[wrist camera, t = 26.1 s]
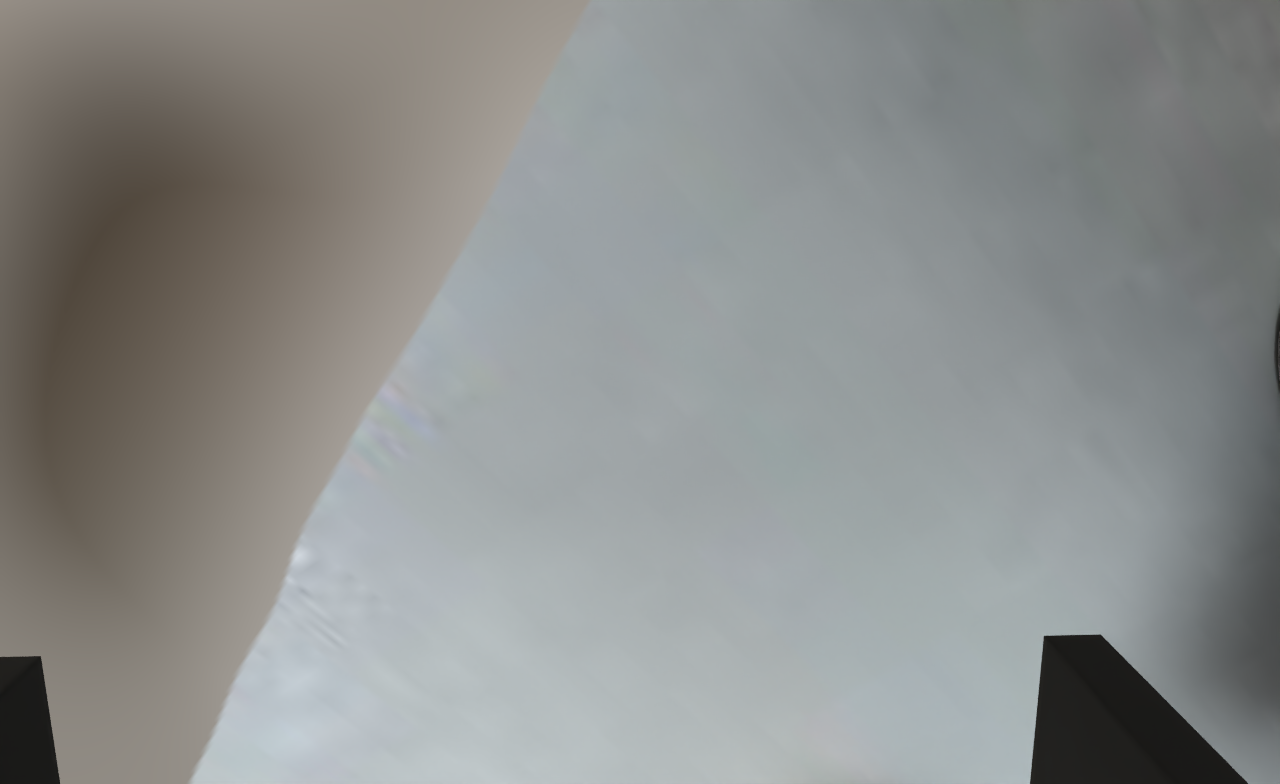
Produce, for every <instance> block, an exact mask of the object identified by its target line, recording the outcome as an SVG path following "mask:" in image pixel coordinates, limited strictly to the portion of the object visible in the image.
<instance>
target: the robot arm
mask: <svg viewBox="0 0 1280 784" xmlns="http://www.w3.org/2000/svg"><path fill="white" fill-rule="evenodd" d="M1278 369H1279V380H1280V331H1279V340H1278ZM0 784H60V780H59V773H58V767H57V760H56V753H55V747H54V740H53V734H52V727H51V720H50V714H49V707H48V701H47V694H46V687H45V681H44V675H43V668H42V661H41V656H32V657H0ZM1030 784H1248V783H1247V782H1246V781H1245V780H1244V779H1243V778H1242V777H1241V776H1240V775H1239V774H1238V773H1237V772H1236V771H1235V770H1234V769H1233V768H1232V767H1231V766H1230V765H1229V764H1228V763H1227V762H1226V761H1225V760H1224V759H1223V758H1222V757H1221V756H1220V755H1219V754H1218V753H1217V752H1216V751H1215V750H1214V749H1213V748H1212V746H1211V745H1210V744H1209V743H1208V742H1207V741H1206V740H1205V739H1204V738H1203V737H1202V736H1201V735H1200V734H1199V733H1198V732H1197V731H1196V730H1195V729H1194V728H1193V727H1192V726H1191V725H1190V724H1189V723H1188V722H1187V721H1186V720H1185V719H1184V718H1183V717H1182V716H1181V715H1180V714H1179V713H1178V712H1177V711H1176V710H1175V709H1174V708H1173V707H1172V706H1171V705H1170V704H1169V703H1168V702H1167V701H1166V700H1165V699H1164V698H1163V697H1162V696H1161V695H1160V694H1159V693H1158V692H1157V691H1156V690H1155V689H1154V688H1153V687H1152V686H1151V685H1150V684H1149V683H1148V682H1147V681H1146V680H1145V679H1144V678H1143V677H1142V676H1141V675H1140V674H1139V673H1138V672H1137V671H1136V670H1135V669H1134V668H1133V667H1132V666H1131V665H1130V664H1129V663H1128V662H1127V661H1126V660H1125V659H1124V658H1123V657H1122V656H1121V655H1120V654H1119V653H1118V652H1117V651H1116V650H1115V649H1114V648H1113V647H1112V646H1111V645H1110V644H1109V643H1108V642H1107V641H1106V640H1105V639H1104V638H1103V637H1102V636H1101V635H1061V636H1044V642H1043V652H1042V663H1041V674H1040V684H1039V695H1038V706H1037V716H1036V727H1035V738H1034V748H1033V759H1032V769H1031V780H1030Z"/></svg>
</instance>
